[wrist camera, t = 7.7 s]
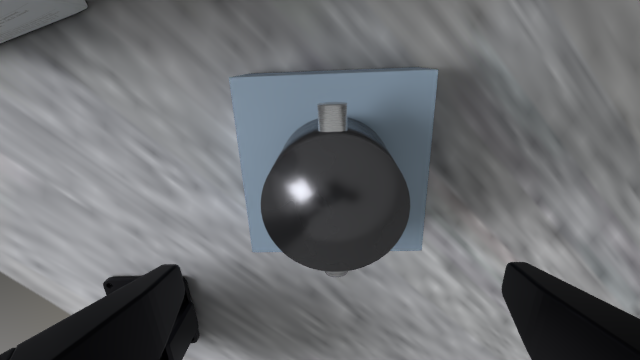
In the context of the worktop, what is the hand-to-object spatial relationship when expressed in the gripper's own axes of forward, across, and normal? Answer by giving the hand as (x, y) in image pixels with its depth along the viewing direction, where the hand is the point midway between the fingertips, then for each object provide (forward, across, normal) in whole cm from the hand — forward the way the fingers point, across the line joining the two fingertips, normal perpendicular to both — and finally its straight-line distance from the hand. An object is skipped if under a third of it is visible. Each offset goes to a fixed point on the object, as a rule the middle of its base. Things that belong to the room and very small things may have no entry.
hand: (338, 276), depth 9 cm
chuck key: (+12, 0, 0) cm, 12 cm away
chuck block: (+13, 0, 0) cm, 13 cm away
